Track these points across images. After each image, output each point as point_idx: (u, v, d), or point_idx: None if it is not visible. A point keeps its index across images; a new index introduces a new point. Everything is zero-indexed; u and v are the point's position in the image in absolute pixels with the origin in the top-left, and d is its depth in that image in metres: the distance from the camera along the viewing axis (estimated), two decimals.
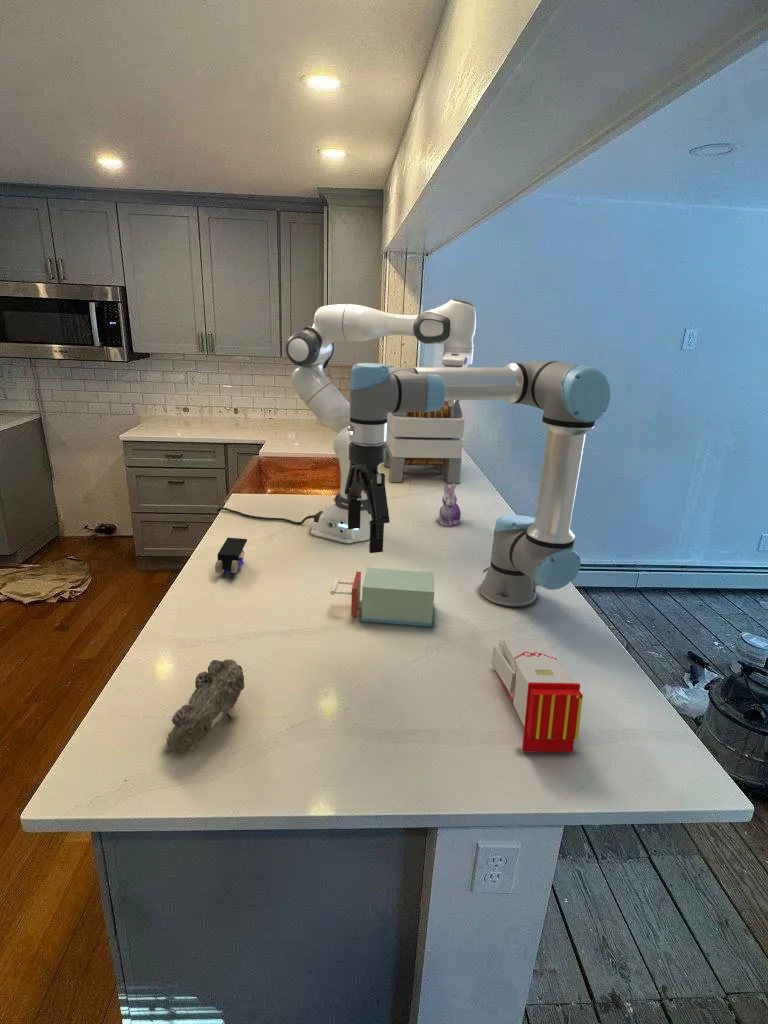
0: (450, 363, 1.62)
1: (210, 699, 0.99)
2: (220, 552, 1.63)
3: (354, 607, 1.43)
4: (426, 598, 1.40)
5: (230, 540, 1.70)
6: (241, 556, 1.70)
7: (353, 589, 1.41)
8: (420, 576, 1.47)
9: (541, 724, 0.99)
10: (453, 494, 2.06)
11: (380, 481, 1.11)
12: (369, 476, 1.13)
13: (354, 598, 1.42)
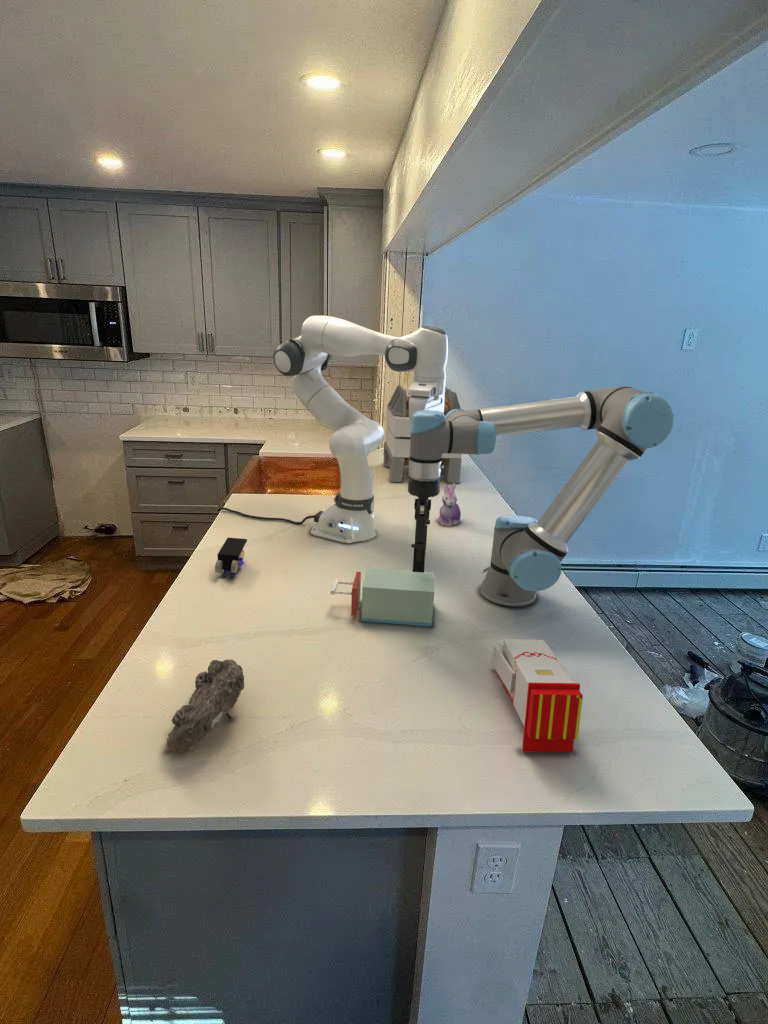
0: (416, 394, 1.53)
1: (210, 699, 0.99)
2: (220, 552, 1.63)
3: (354, 607, 1.43)
4: (426, 598, 1.40)
5: (230, 540, 1.70)
6: (241, 556, 1.70)
7: (353, 589, 1.41)
8: (420, 576, 1.47)
9: (541, 724, 0.99)
10: (453, 494, 2.06)
11: None
12: None
13: (354, 598, 1.42)
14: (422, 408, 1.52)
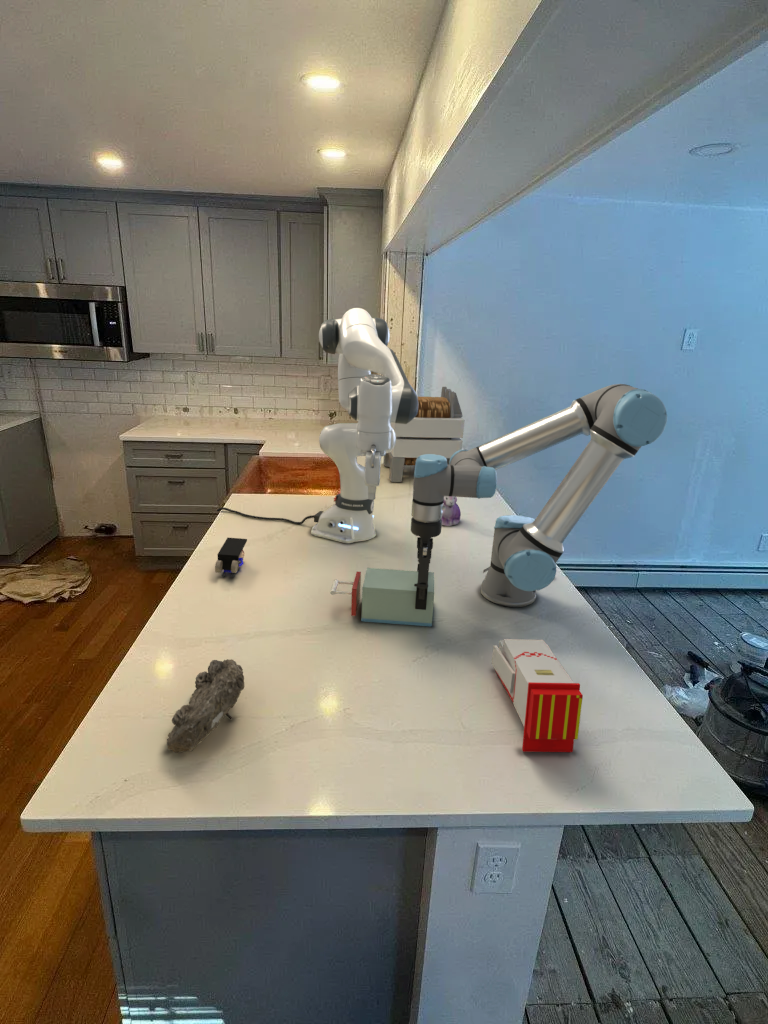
0: None
1: (210, 699, 0.99)
2: (220, 552, 1.63)
3: (354, 607, 1.43)
4: None
5: (230, 540, 1.70)
6: (241, 556, 1.70)
7: (353, 589, 1.41)
8: None
9: (541, 724, 0.99)
10: None
11: None
12: None
13: (354, 598, 1.42)
14: None
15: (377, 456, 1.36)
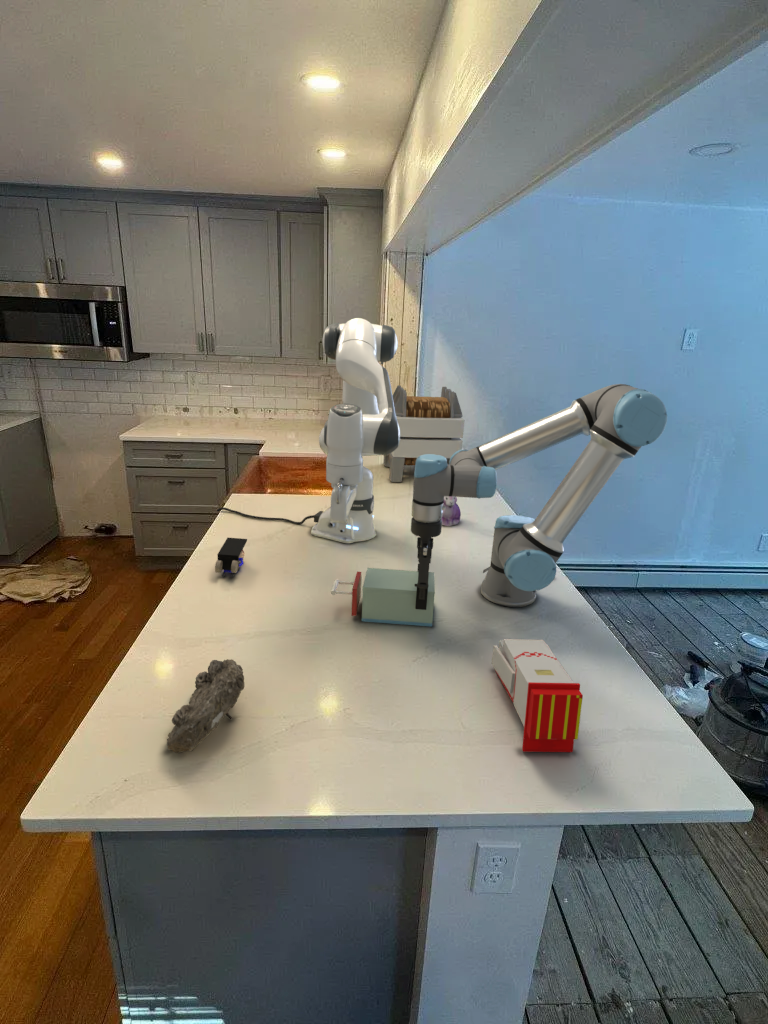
0: None
1: (210, 699, 0.99)
2: (220, 552, 1.63)
3: (354, 607, 1.43)
4: None
5: (230, 540, 1.70)
6: (241, 556, 1.70)
7: (354, 589, 1.41)
8: None
9: (541, 724, 0.99)
10: None
11: None
12: None
13: (355, 598, 1.42)
14: None
15: (343, 491, 1.29)
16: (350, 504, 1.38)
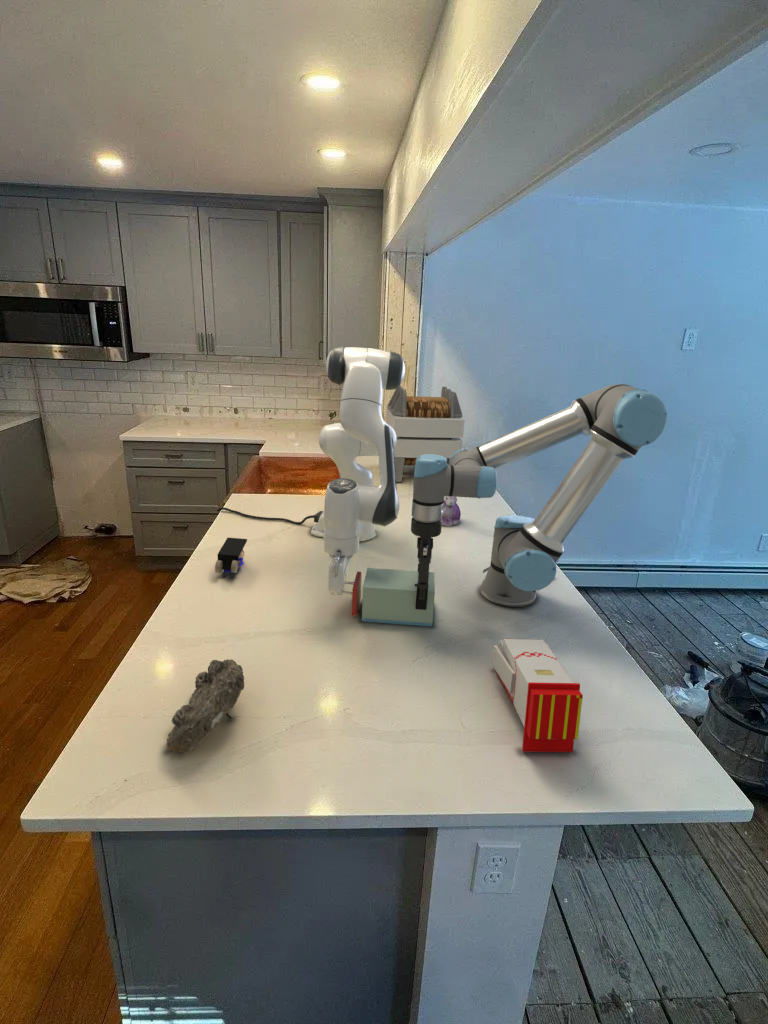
0: None
1: (210, 699, 0.99)
2: (220, 552, 1.63)
3: (355, 607, 1.43)
4: None
5: (230, 540, 1.70)
6: (241, 556, 1.70)
7: (354, 589, 1.41)
8: None
9: (541, 724, 0.99)
10: None
11: None
12: None
13: (355, 598, 1.42)
14: None
15: (340, 564, 1.35)
16: (347, 572, 1.44)
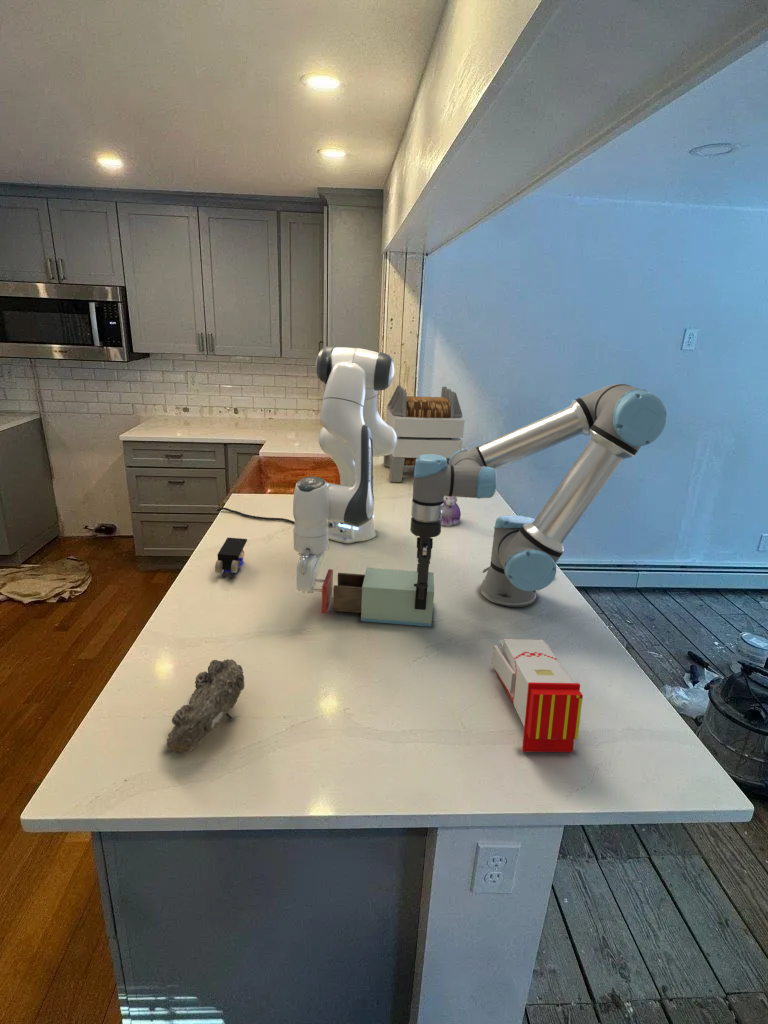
0: None
1: (210, 699, 0.99)
2: (220, 552, 1.63)
3: (324, 605, 1.43)
4: None
5: (230, 540, 1.70)
6: (241, 556, 1.70)
7: (323, 586, 1.41)
8: None
9: (541, 724, 0.99)
10: None
11: None
12: None
13: (324, 595, 1.42)
14: None
15: (309, 562, 1.36)
16: (317, 570, 1.44)
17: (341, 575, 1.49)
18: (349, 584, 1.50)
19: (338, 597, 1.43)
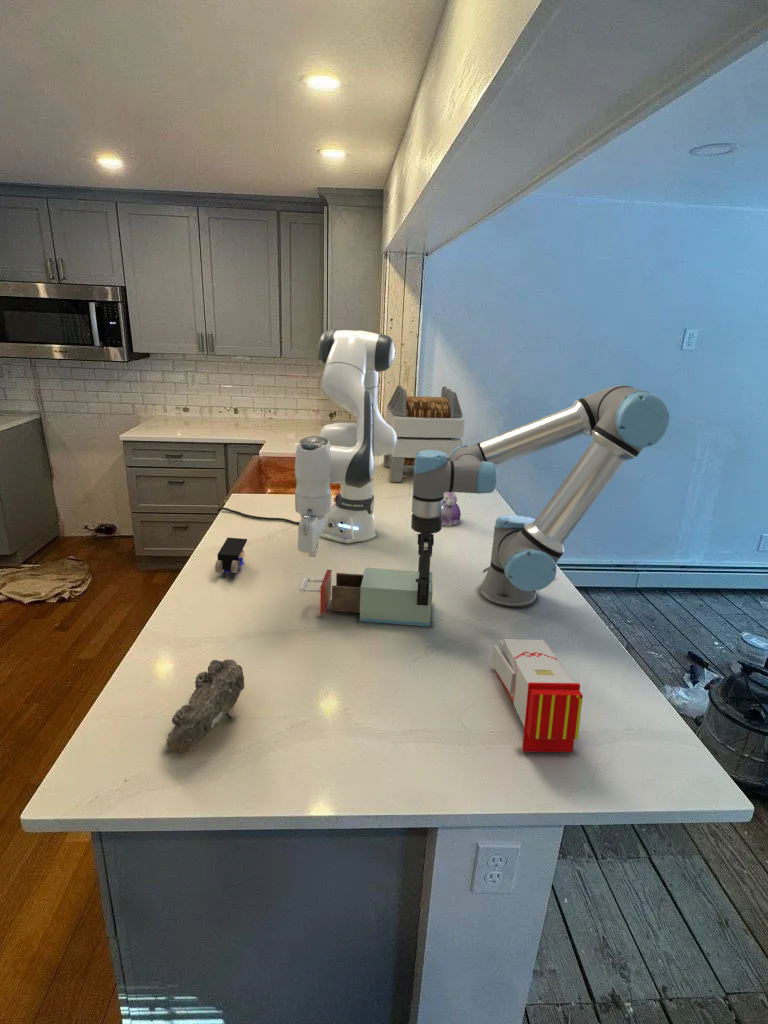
0: None
1: (210, 699, 0.99)
2: (220, 552, 1.63)
3: (323, 605, 1.43)
4: None
5: (230, 540, 1.70)
6: (241, 556, 1.70)
7: (322, 587, 1.42)
8: (418, 576, 1.47)
9: (541, 724, 0.99)
10: (453, 494, 2.06)
11: None
12: None
13: (323, 596, 1.42)
14: None
15: (310, 523, 1.32)
16: (319, 534, 1.41)
17: (339, 575, 1.49)
18: (348, 584, 1.50)
19: (336, 597, 1.43)
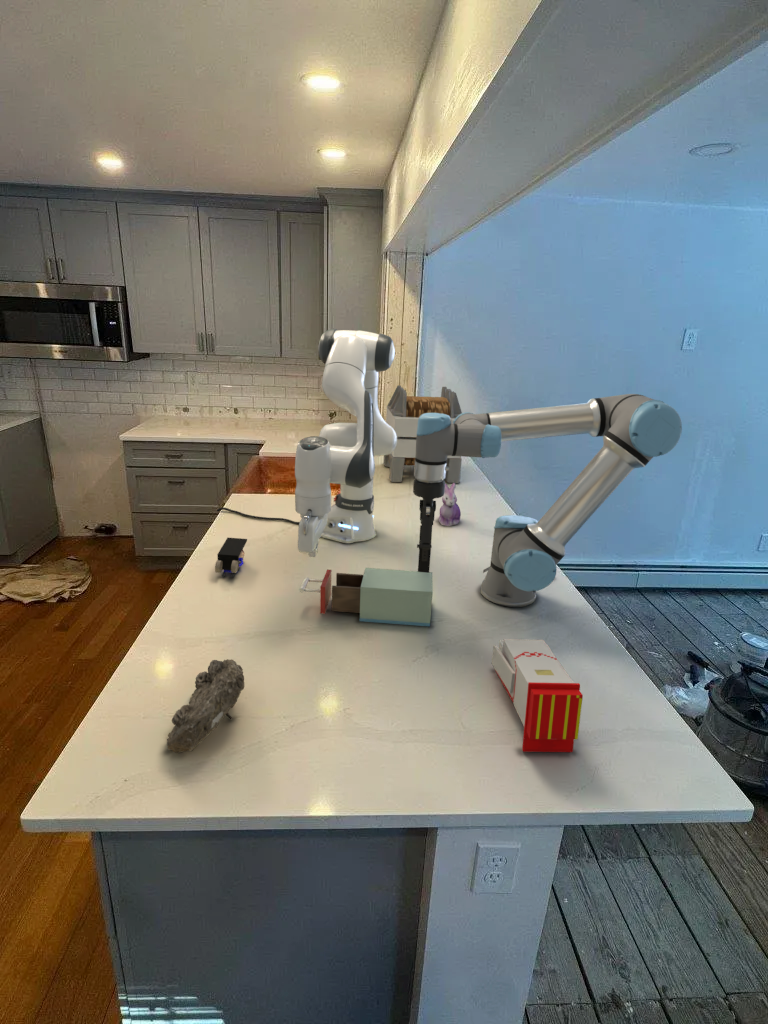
0: None
1: (210, 699, 0.99)
2: (220, 552, 1.63)
3: (323, 605, 1.43)
4: (424, 598, 1.40)
5: (230, 540, 1.70)
6: (241, 556, 1.70)
7: (322, 587, 1.42)
8: (418, 576, 1.47)
9: (541, 724, 0.99)
10: (453, 494, 2.06)
11: None
12: None
13: (323, 596, 1.42)
14: None
15: (310, 523, 1.32)
16: (319, 534, 1.41)
17: (339, 575, 1.49)
18: (348, 584, 1.50)
19: (336, 597, 1.43)
